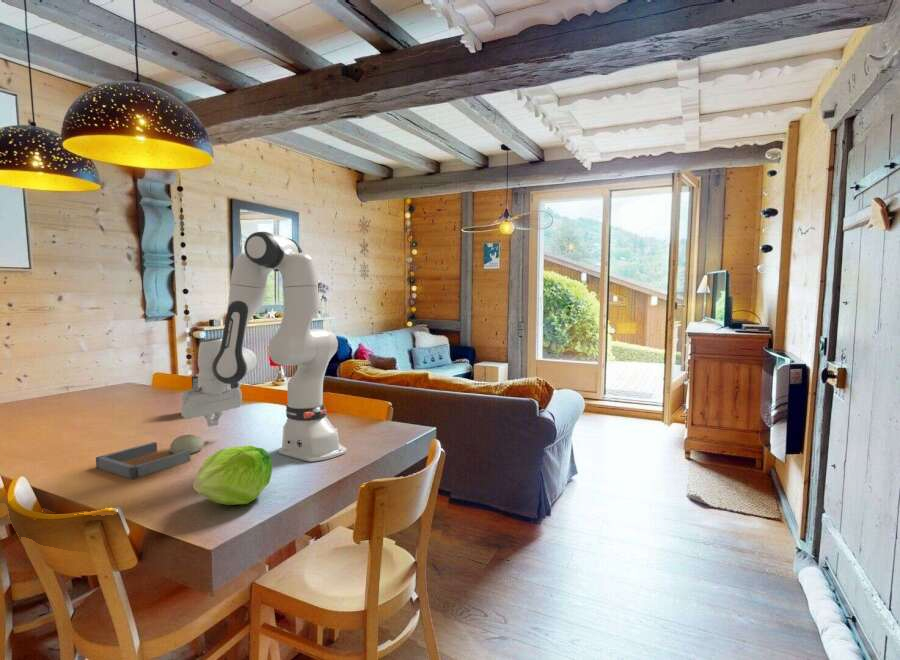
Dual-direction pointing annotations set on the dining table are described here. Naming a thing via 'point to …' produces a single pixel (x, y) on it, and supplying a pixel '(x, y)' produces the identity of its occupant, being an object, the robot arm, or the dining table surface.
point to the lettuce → (234, 475)
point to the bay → (116, 465)
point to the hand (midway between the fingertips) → (212, 425)
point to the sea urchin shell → (187, 444)
